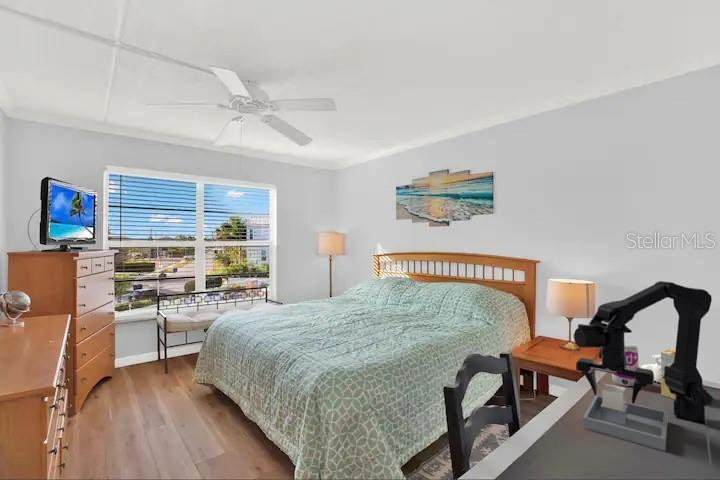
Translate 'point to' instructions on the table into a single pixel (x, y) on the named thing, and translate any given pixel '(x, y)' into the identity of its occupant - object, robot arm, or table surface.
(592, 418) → the tray
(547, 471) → the table surface
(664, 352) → the candy box
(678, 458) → the table surface
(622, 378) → the supplement can
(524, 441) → the table surface
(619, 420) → the steel block
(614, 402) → the cream box
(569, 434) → the table surface
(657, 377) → the duck figurine
